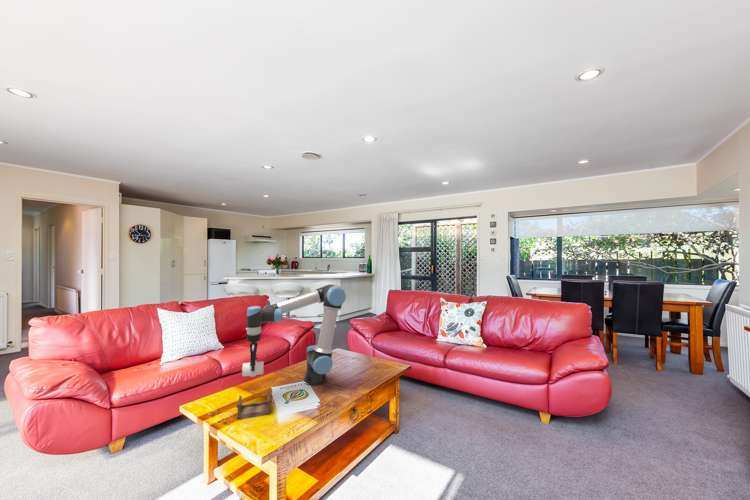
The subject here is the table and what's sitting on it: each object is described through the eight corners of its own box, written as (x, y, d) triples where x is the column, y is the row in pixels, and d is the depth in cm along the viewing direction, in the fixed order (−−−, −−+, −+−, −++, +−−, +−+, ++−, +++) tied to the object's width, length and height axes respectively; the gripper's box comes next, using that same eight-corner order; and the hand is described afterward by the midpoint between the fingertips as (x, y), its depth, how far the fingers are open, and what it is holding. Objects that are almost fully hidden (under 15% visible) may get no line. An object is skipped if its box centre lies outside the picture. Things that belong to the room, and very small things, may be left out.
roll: (263, 371, 187) (263, 359, 187) (263, 376, 180) (263, 363, 180) (243, 373, 183) (243, 361, 183) (242, 378, 177) (242, 365, 177)
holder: (271, 404, 177) (271, 391, 177) (271, 414, 166) (271, 400, 166) (237, 409, 171) (237, 396, 171) (235, 419, 160) (235, 405, 161)
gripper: (248, 330, 190) (247, 368, 190) (245, 338, 171) (244, 381, 171) (261, 329, 192) (260, 367, 192) (260, 337, 173) (259, 379, 173)
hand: (253, 373), depth 182 cm, fingers closed on roll, 7 cm apart
